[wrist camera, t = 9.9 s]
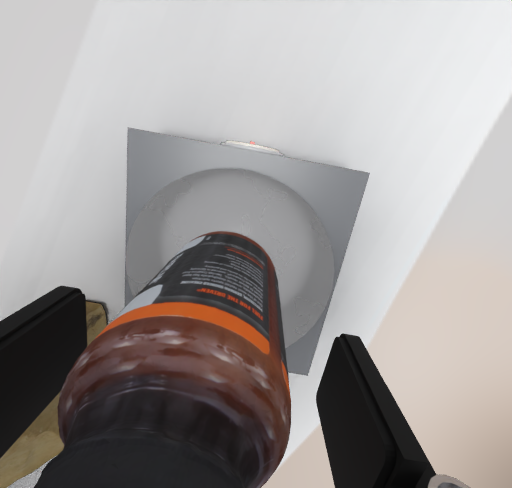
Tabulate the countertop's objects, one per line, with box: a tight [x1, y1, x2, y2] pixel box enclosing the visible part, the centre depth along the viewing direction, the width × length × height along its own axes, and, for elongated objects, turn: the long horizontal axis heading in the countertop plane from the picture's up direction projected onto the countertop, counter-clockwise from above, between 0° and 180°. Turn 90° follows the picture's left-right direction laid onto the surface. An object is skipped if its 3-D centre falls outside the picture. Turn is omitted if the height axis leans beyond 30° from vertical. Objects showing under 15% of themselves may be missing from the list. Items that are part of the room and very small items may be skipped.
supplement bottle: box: [34, 231, 291, 488], centre depth 9 cm, size 6×6×11 cm
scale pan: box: [126, 168, 334, 348], centre depth 15 cm, size 12×12×1 cm
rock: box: [0, 301, 107, 488], centre depth 20 cm, size 11×9×10 cm
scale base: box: [125, 128, 370, 376], centre depth 17 cm, size 14×13×4 cm
